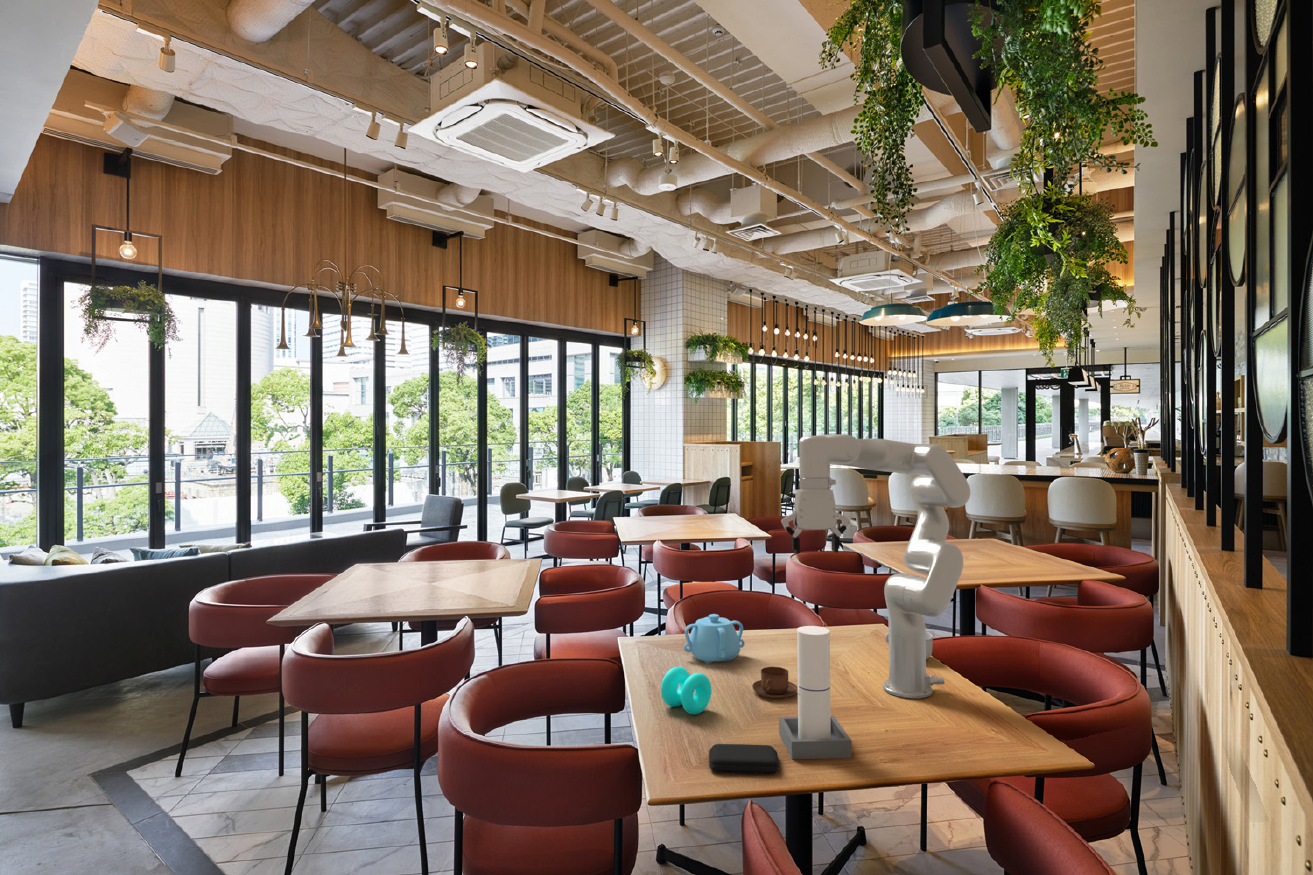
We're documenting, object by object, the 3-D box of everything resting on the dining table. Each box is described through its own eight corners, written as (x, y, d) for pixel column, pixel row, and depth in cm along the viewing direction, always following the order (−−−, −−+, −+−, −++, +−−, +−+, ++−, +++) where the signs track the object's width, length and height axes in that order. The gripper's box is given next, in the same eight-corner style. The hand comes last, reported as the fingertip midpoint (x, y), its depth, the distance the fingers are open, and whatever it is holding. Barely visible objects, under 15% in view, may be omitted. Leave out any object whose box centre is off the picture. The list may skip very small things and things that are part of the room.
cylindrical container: (812, 750, 150) (811, 636, 150) (791, 738, 157) (790, 628, 157) (837, 743, 154) (836, 631, 154) (816, 731, 160) (815, 624, 160)
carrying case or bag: (776, 753, 152) (709, 752, 153) (776, 740, 152) (709, 738, 153) (780, 778, 141) (708, 775, 142) (780, 763, 141) (708, 761, 142)
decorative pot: (721, 670, 205) (721, 625, 205) (678, 659, 215) (678, 616, 215) (749, 656, 218) (749, 613, 218) (707, 647, 228) (707, 605, 228)
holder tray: (833, 731, 162) (833, 715, 162) (851, 757, 149) (851, 740, 149) (779, 733, 161) (778, 717, 161) (791, 759, 148) (791, 741, 148)
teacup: (936, 656, 215) (936, 631, 215) (929, 666, 206) (929, 640, 206) (890, 649, 223) (890, 624, 223) (882, 659, 214) (881, 633, 214)
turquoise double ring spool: (685, 698, 183) (685, 661, 183) (714, 709, 176) (713, 670, 176) (658, 709, 176) (658, 670, 176) (687, 720, 169) (687, 680, 169)
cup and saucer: (797, 703, 179) (797, 680, 179) (750, 700, 182) (750, 677, 182) (797, 687, 191) (797, 665, 191) (753, 684, 193) (753, 662, 193)
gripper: (844, 482, 178) (845, 549, 178) (777, 484, 177) (778, 550, 177) (853, 484, 170) (854, 554, 170) (784, 486, 170) (785, 555, 170)
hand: (815, 552), depth 174 cm, fingers open, 9 cm apart
